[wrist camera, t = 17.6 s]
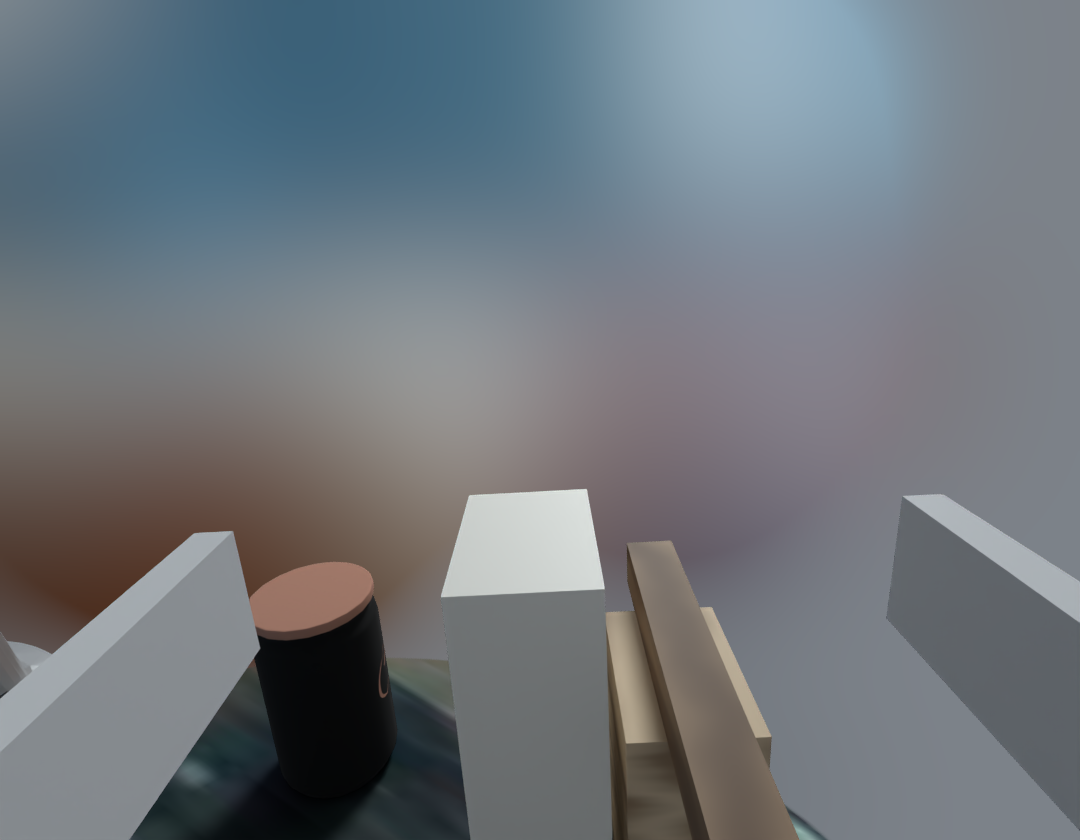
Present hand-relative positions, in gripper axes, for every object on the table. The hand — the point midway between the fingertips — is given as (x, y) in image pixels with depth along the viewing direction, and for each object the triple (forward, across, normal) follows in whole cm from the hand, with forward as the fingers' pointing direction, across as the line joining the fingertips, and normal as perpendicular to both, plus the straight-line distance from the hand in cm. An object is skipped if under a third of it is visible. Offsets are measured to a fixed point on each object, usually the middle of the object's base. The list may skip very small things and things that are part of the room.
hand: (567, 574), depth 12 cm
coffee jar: (+35, -22, -40) cm, 57 cm away
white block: (+21, -2, -40) cm, 45 cm away
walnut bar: (+19, +7, -20) cm, 29 cm away
